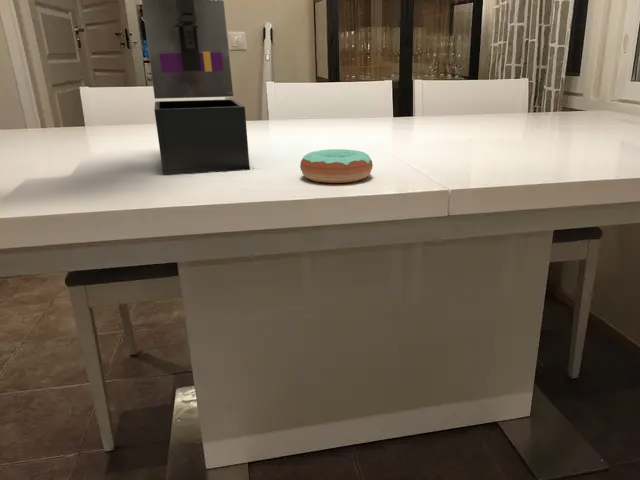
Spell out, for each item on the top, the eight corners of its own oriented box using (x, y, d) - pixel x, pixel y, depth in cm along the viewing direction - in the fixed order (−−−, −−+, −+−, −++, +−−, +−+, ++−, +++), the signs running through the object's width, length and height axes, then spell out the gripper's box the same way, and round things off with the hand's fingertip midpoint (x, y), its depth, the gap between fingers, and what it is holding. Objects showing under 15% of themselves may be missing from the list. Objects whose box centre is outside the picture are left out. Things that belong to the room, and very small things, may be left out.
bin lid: (223, -1, 105) (221, 7, 111) (141, -3, 101) (142, 5, 106) (233, 96, 109) (230, 99, 114) (154, 98, 105) (155, 101, 110)
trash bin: (249, 169, 99) (244, 106, 95) (163, 175, 95) (154, 109, 91) (238, 154, 114) (233, 99, 110) (162, 158, 109) (155, 101, 105)
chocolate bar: (161, 73, 92) (158, 52, 91) (162, 72, 95) (159, 52, 94) (223, 71, 95) (221, 51, 94) (221, 70, 98) (219, 51, 97)
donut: (387, 179, 91) (387, 154, 89) (323, 189, 85) (323, 162, 83) (347, 167, 100) (347, 145, 99) (288, 175, 94) (286, 151, 92)
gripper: (201, -102, 80) (218, 71, 89) (195, -78, 95) (210, 68, 104) (146, -106, 78) (169, 72, 86) (149, -81, 93) (168, 68, 101)
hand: (191, 69), depth 95 cm, fingers closed on chocolate bar, 4 cm apart
